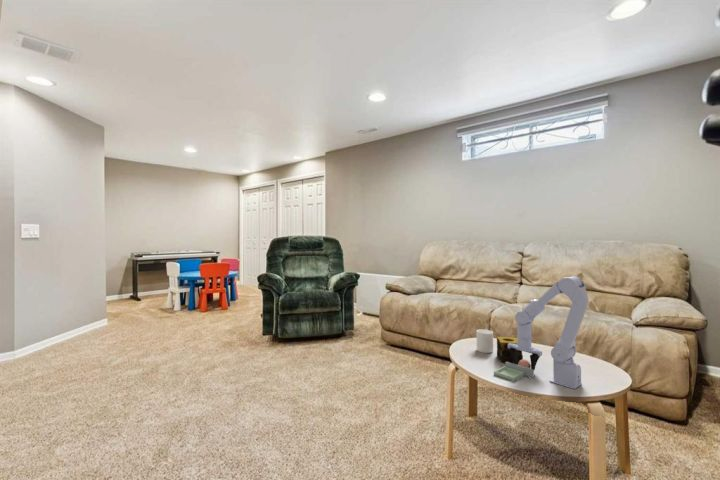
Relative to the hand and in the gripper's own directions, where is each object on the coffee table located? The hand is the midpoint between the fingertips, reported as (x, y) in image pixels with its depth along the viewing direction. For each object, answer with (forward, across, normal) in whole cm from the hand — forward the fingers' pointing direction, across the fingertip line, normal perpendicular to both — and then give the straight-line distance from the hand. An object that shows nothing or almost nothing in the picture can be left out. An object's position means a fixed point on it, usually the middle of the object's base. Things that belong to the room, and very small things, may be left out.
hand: (524, 367), depth 152 cm
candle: (+2, +11, -8) cm, 14 cm away
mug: (+2, +26, -13) cm, 29 cm away
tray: (+1, +2, +10) cm, 11 cm away
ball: (-1, 0, 0) cm, 1 cm away
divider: (+1, 0, +5) cm, 5 cm away
